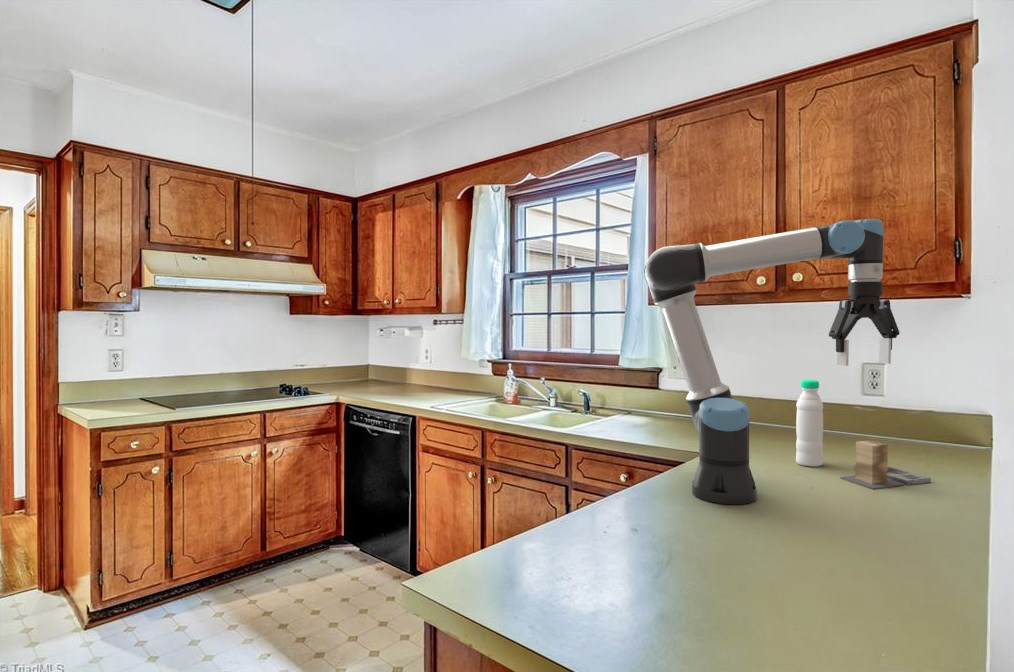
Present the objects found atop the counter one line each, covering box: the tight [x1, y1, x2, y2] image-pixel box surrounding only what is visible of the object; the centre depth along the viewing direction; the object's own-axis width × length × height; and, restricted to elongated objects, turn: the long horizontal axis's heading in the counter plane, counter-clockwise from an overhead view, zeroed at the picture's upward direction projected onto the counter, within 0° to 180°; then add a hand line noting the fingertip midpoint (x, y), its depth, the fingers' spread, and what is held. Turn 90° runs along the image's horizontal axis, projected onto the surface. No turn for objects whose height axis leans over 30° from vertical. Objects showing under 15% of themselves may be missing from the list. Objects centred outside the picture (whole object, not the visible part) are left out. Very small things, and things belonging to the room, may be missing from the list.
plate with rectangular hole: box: [853, 464, 932, 486], centre depth 156 cm, size 8×16×1 cm, turn 15°
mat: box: [840, 474, 905, 490], centre depth 150 cm, size 10×10×1 cm
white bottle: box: [795, 379, 824, 468], centre depth 167 cm, size 7×7×25 cm
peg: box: [855, 440, 889, 484], centre depth 150 cm, size 5×5×10 cm
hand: (864, 364), depth 146 cm, fingers open, 13 cm apart
